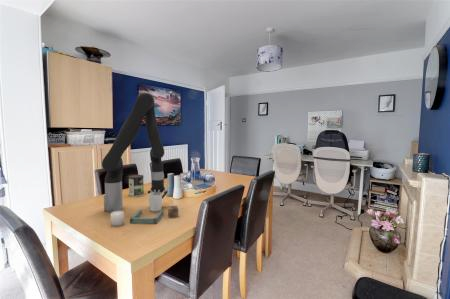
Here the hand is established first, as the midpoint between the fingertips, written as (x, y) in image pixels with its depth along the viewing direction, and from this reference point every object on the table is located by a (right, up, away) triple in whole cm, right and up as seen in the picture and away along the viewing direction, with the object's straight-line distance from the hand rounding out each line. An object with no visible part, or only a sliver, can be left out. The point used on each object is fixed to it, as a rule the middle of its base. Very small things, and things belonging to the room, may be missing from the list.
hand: (158, 205), depth 140 cm
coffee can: (-24, +1, +25) cm, 34 cm away
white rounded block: (-13, -3, -25) cm, 29 cm away
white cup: (0, -2, -5) cm, 5 cm away
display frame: (0, -3, -17) cm, 18 cm away
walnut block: (+13, -3, -14) cm, 19 cm away
